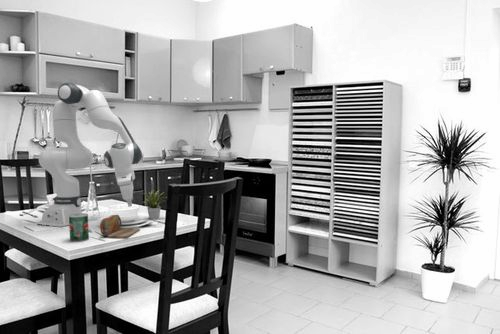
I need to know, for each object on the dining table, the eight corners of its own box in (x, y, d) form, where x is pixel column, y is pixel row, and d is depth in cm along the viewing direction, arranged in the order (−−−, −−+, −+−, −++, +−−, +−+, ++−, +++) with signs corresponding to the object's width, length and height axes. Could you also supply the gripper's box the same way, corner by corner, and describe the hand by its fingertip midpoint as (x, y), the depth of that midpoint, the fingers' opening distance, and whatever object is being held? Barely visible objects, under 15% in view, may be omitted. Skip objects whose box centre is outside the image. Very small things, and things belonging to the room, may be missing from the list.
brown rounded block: (105, 238, 196) (105, 219, 195) (99, 237, 197) (98, 219, 196) (122, 230, 211) (121, 213, 210) (116, 230, 211) (115, 212, 210)
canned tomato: (92, 239, 194) (91, 215, 193) (74, 242, 188) (73, 217, 187) (84, 236, 200) (83, 212, 198) (67, 239, 194) (65, 215, 193)
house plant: (147, 223, 226) (146, 191, 224) (134, 218, 236) (133, 189, 234) (171, 218, 235) (170, 188, 234) (157, 215, 245) (156, 186, 244)
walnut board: (107, 238, 196) (107, 235, 196) (121, 230, 211) (121, 228, 211) (126, 238, 195) (126, 236, 195) (139, 230, 210) (139, 228, 209)
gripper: (120, 172, 222) (125, 197, 225) (116, 183, 202) (122, 210, 206) (133, 170, 223) (138, 195, 226) (130, 180, 203) (136, 208, 207)
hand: (130, 203), depth 216 cm, fingers open, 8 cm apart
